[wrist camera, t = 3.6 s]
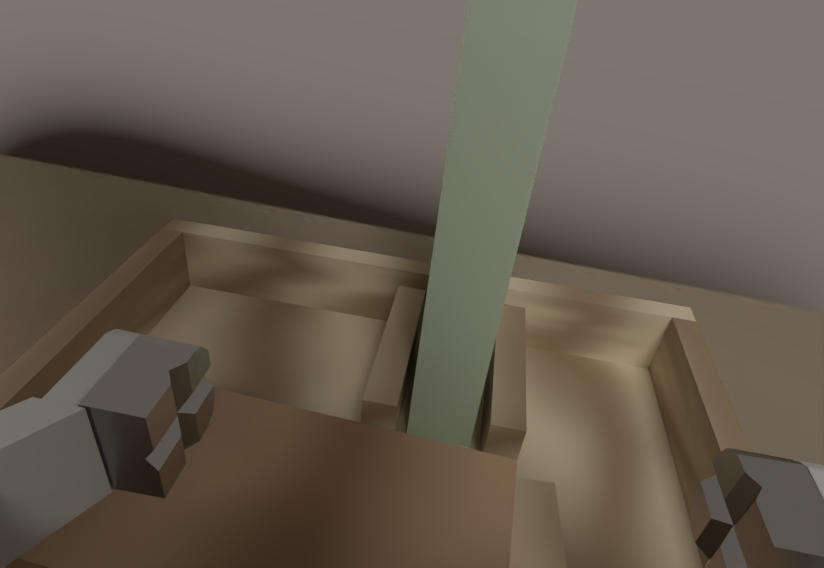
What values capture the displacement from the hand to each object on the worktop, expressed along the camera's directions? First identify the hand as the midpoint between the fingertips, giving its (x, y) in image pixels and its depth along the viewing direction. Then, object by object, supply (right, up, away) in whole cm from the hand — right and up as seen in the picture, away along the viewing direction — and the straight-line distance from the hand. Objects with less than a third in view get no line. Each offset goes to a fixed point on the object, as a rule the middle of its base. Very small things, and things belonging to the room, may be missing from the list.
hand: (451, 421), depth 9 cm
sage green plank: (+1, -2, +14) cm, 14 cm away
